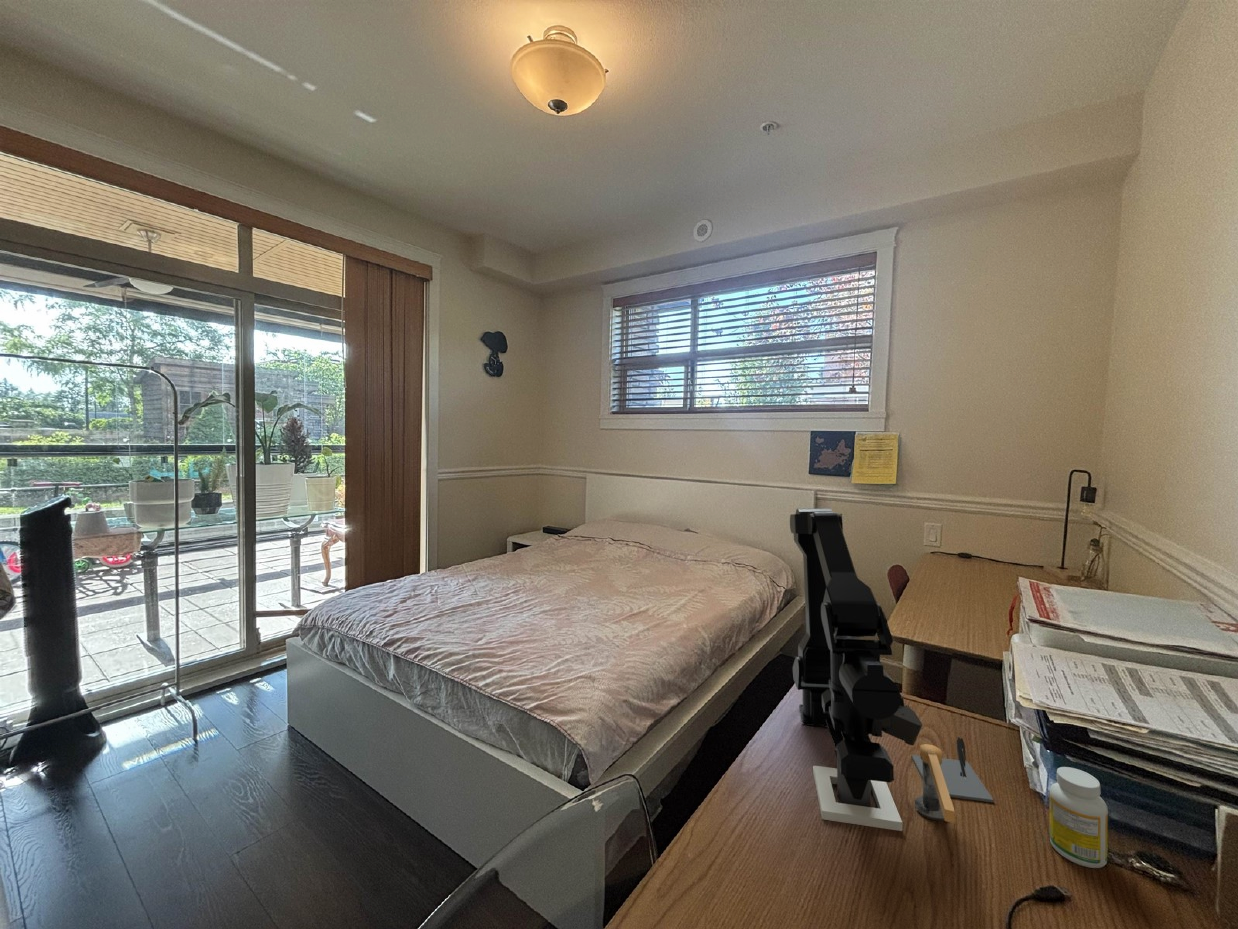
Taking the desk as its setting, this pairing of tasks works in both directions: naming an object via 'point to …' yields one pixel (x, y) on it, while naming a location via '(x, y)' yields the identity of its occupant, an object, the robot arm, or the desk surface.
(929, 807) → the post
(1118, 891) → the desk surface
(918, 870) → the desk surface
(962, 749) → the black pen
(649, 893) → the desk surface
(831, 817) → the socket block
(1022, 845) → the desk surface
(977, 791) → the mat
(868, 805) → the plug
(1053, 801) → the supplement bottle
